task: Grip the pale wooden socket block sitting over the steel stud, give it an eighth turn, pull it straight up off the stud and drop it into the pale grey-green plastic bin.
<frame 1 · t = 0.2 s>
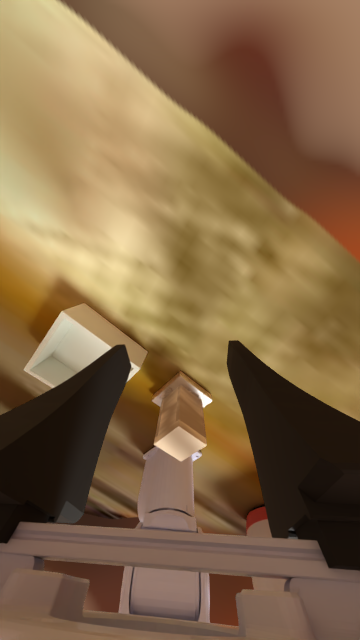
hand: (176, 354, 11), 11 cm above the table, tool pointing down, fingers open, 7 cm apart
stud plate: (181, 394, 25), on the table
citrus juicer: (267, 512, 37), on the table
socket block: (181, 400, 24), point 1 cm above the table, touching stud plate
bin: (97, 352, 23), on the table
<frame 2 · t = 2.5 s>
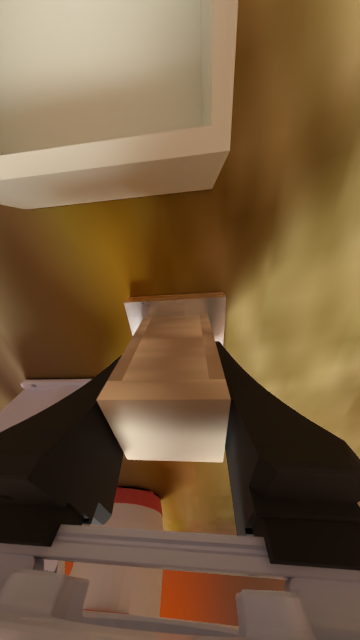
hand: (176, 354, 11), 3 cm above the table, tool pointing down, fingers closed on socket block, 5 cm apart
stud plate: (178, 333, 13), on the table
citrus juicer: (134, 492, 33), on the table
socket block: (177, 342, 12), point 1 cm above the table, touching gripper, stud plate
bin: (76, 28, 6), on the table
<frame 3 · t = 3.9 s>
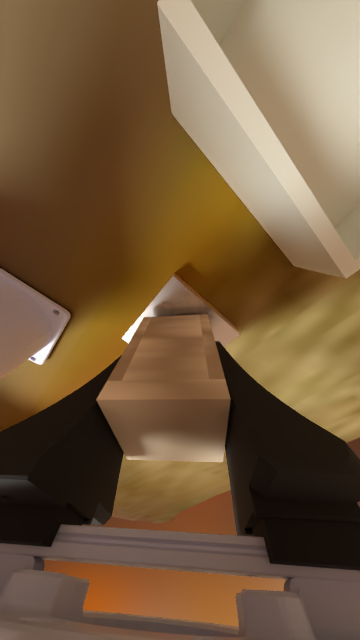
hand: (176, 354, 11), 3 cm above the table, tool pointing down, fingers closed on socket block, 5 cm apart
stud plate: (179, 329, 14), on the table
socket block: (177, 342, 12), point 2 cm above the table, touching gripper
bin: (340, 87, 7), on the table
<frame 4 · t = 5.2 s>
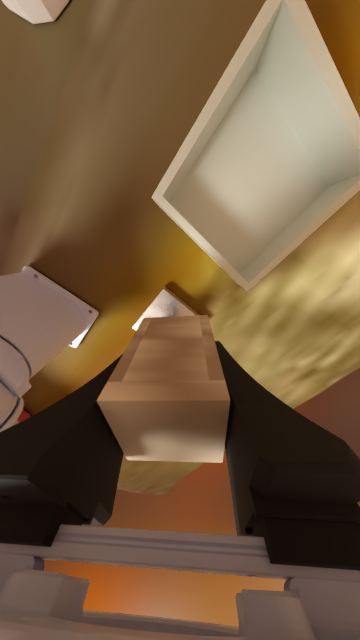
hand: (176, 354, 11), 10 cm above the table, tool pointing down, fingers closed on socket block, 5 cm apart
stud plate: (169, 321, 21), on the table
socket block: (177, 342, 12), point 9 cm above the table, touching gripper
bin: (242, 198, 14), on the table
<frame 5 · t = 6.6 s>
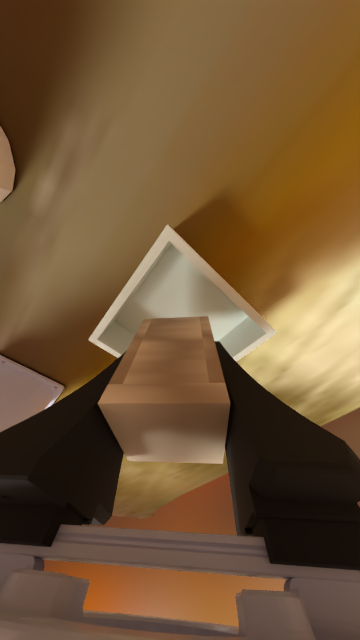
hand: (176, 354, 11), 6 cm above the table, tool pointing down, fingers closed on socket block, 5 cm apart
socket block: (178, 343, 12), point 5 cm above the table, touching gripper
bin: (180, 315, 16), on the table
when the fingers open (4 cm above the table, at t = 7.8 s): socket block drops 2 cm, resting on bin.
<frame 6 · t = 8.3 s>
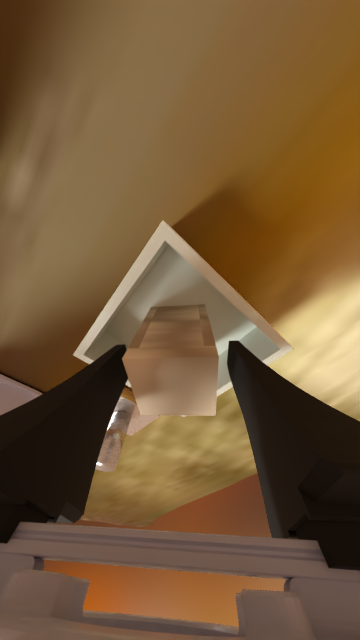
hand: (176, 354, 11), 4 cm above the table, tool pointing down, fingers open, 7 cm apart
stud plate: (125, 407, 21), on the table
socket block: (179, 328, 14), point 1 cm above the table, touching bin
bin: (179, 324, 14), on the table
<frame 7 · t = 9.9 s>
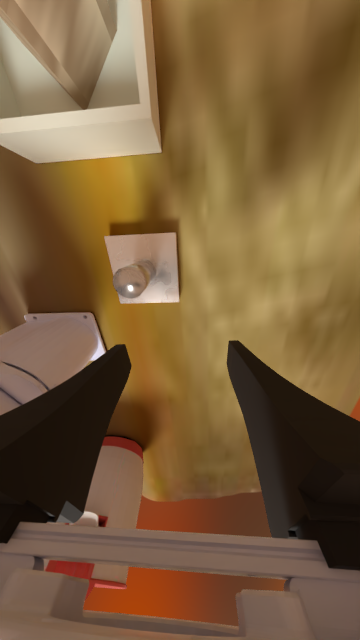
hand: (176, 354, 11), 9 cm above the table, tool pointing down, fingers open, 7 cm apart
stud plate: (147, 270, 17), on the table
citrus juicer: (119, 444, 37), on the table
socket block: (68, 37, 10), point 1 cm above the table, touching bin
bin: (73, 45, 10), on the table
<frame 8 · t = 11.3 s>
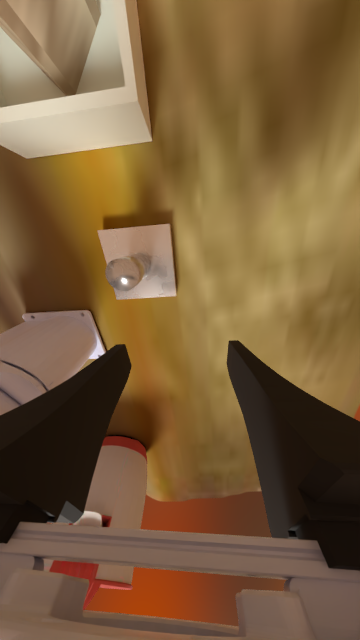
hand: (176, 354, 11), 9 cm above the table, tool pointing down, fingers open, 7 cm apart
stud plate: (143, 264, 17), on the table
citrus juicer: (123, 443, 37), on the table
socket block: (52, 24, 10), point 1 cm above the table, touching bin
bin: (57, 33, 10), on the table
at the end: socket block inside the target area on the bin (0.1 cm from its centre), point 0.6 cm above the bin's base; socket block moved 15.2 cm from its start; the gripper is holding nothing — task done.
